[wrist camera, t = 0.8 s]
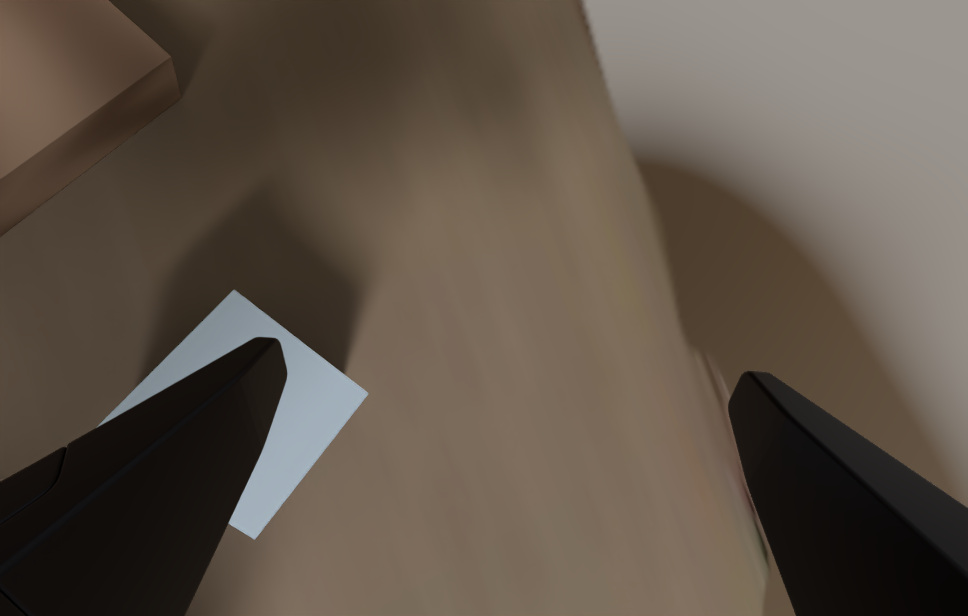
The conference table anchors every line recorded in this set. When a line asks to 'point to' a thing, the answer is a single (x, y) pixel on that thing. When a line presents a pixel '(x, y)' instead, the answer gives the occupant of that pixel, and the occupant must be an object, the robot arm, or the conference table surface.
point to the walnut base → (70, 94)
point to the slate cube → (300, 414)
